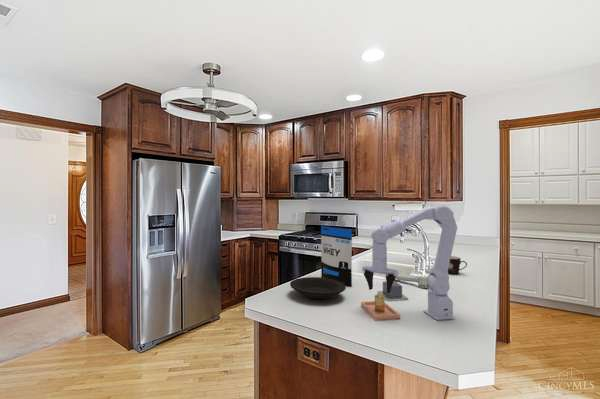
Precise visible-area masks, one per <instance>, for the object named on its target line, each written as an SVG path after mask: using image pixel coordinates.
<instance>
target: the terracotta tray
mask: <svg viewBox="0 0 600 399" xmlns="http://www.w3.org/2000/svg"><path fill="white" fill-rule="evenodd" d="M360 307H361V308H363V309H364V310H366V311H367V312H366V311H365V312H366V313H368V315H369V316H370V315H371V316H370V317H371V318H372V317H373V318H372V319H373V320H374V319H375V320H374V321H378V320H380V321H391V320H392V321H394V319H395V320H400V319H401V314H400V313H399V312H398V311H396V310H395V309H394V308H393V307H391V306H390V305H389V304H388V303H387V302H385V312H382V313H380V312H376V311H375V300H373V301H372V300H371V301H361V303H360Z"/></svg>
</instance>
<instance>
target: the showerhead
mask: <svg viewBox="0 0 600 399" xmlns="http://www.w3.org/2000/svg"><path fill="white" fill-rule="evenodd" d="M432 268H433V267H430V266H427V268H425V270H424V272H425V274H428V275H429V274H430V272H431V269H432Z"/></svg>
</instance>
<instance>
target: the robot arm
mask: <svg viewBox="0 0 600 399" xmlns="http://www.w3.org/2000/svg"><path fill="white" fill-rule="evenodd" d="M424 220H432V221H434V222H436V223H437V224H438V226H439V227H440V229H441V233H440V238H439V242H438V246H437V251H436V255H435V256H436V257H435V260H434V263H433V264H434V265H433V267H431V268H432V269H431V272H430V274H428V275H427V276H426V277H427V279H426V282H427V284H428V286H429V288H427V309H423V312H424V313H425V314H427V315H428V316H429V317H431V318H432V319H434V320H435V321H441V320H443V321H444V320H455V319H456V318H455V317H454V310H453V309H454V307H453V306H454V303H453V300H452V299H451V298H450V297H449V293H448V292H449V290H450V276H449V274H448V267H449V263H450V258H451V256H452V254H453V253H452V252H453V249H454V244H455V240H456V235H457V230H458V225H457V223H456V220H455V217H454V211H453V210H452V209H451V208H450V207H449V206H447V205H443V204H442V205H441V204H440V205H439V204H432V205H430V206H426V207H424V208H422V209H420V210H418V211H416V212H414V213H413V214H411V215H409V216H407V217H405V218H404V219H402V220H401V219H398V218H397V219H395V218H393V219H391V221H390V222H388V223H387V224H385V225H383V224H381V225H380V227H377V228H375V229H373V231H372V232H371V235H370V236H371V239H372V246H371V248H372V253H371V254H372V261H371V262H372V266H370V265H364V266H362V267H361V268H362V269H361V270H362V272H363V276H364V278H365V279H366V280H365V281H366V282H367V285H368V286H367V287H368V290H370V291H371V290H373V288H374V274H375V273H376V274H383V275H385V279H386V280H385V282H387V293H390V292H391V287H392V284H393V281H395V280H394V279H395V277H396V276H397V275H398V274H399V270H397V269H393V268H392V269H391V268H388V265H387V264H388V260H387V259H388V251H387V250H388V246H387V242H388V240H389V239H392V238H394V237H396V236H398V235H400V234H402V233H404V232H405V229H406V228H408V227H410V226H412V225H414V224H417V223H419V222H422V221H424ZM386 274H387V276H386Z"/></svg>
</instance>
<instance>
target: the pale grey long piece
mask: <svg viewBox="0 0 600 399" xmlns="http://www.w3.org/2000/svg"><path fill="white" fill-rule="evenodd" d="M386 276H387V274H385V277H386ZM427 277H428V276H427V275H420V276H418V275H410V274H405V273H398V275H397V276H396V277H395V279H397V280H396V281H398V280H403V281H402V282H410V283H411V282H413V283H417V285H418V288H420V289H426V290H428V289H429V286H428V284H427V282H426V279H427Z"/></svg>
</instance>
